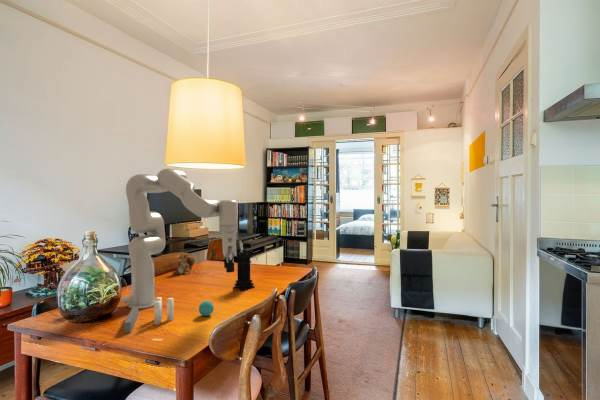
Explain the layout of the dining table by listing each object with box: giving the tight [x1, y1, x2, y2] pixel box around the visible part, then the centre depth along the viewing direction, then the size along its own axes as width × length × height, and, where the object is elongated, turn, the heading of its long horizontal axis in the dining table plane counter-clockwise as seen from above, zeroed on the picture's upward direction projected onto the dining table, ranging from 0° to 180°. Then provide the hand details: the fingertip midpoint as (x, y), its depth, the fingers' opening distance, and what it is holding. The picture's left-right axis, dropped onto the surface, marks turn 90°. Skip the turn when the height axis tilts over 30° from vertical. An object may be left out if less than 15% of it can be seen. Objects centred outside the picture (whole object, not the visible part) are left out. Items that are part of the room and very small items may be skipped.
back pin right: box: [153, 301, 162, 326], centre depth 129 cm, size 2×2×8 cm
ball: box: [198, 300, 215, 317], centre depth 137 cm, size 6×6×6 cm
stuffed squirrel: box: [172, 252, 196, 276], centre depth 214 cm, size 10×14×13 cm
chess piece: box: [233, 249, 255, 291], centre depth 178 cm, size 8×8×20 cm
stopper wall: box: [123, 306, 139, 334], centre depth 128 cm, size 2×18×4 cm, turn 18°
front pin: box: [166, 297, 175, 322], centre depth 133 cm, size 2×2×8 cm
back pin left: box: [155, 296, 163, 320], centre depth 134 cm, size 2×2×8 cm
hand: (229, 269), depth 140 cm, fingers open, 8 cm apart
